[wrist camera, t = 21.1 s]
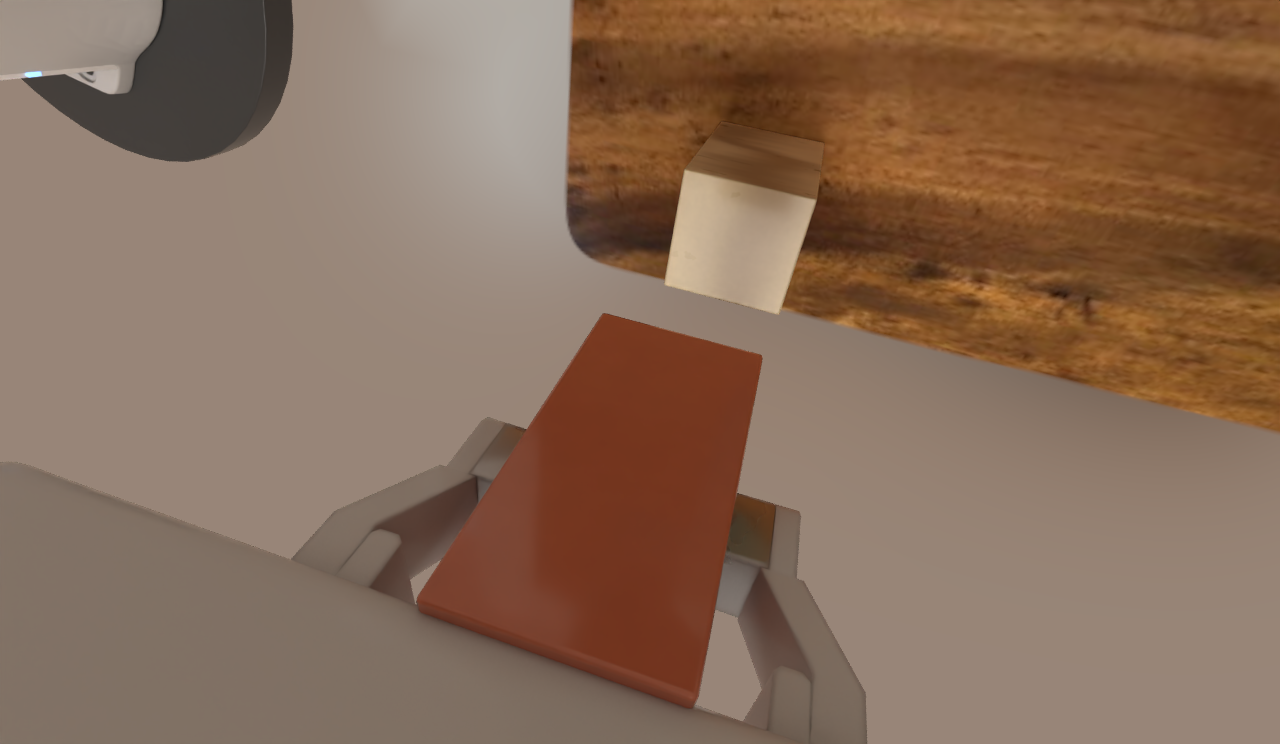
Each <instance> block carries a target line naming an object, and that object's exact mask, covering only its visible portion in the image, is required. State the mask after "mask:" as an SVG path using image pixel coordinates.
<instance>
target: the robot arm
mask: <svg viewBox="0 0 1280 744" xmlns="http://www.w3.org/2000/svg"><path fill="white" fill-rule="evenodd" d="M162 9H163V0H0V80H8V79H18V78H30V77H40V76H50V75H60V74H66V75H68V76H70V77H72V78H74V79H76V80H78V81H81V82H83V83H85V84H87V85H89V86H91V87H94V88H96V89H98V90H100V91H102V92H104V93H107V94H123V93H128V92H129V91H130V90H131V88H132V85H133V80H134V73H135V62H136V60H137V59H138V57H139V56H140V54H141V53H142V52H143V51H144V50H145V49H146V48H147V47H148V46H149V45H150V44H151V43H152V41H153V40H154V38H155V36H156V34H157V32H158V29H159V26H160V22H161V17H162ZM526 430H527V429H524V428H521V427H517V426H515V425H511V424H507V423H504V422H501V421H498V420H495V419H492V418H489V417H487V418H485V419H484V420H482V421H481V422H480V423H479V425H478V426H477V427H476V429H475V430H474V431H473V433H472V434H471V435H470V436H469V438H468V439H467V441H466V442H465V443H464V444H463V446H462V447H461V448H460V450H459V451H458V452H457V453H456V455H455V456H454V457H453V459H452V460H451V461H450V462H449V464H448V465H447V466H446V467H445V466H442V465H439V466H436V467H434V468H432V469H430V470H427V471H425V472H423V473H420V474H418V475H416V476H414V477H411V478H409V479H407V480H405V481H402V482H400V483H398V484H395V485H393V486H391V487H388V488H386V489H384V490H382V491H379V492H377V493H375V494H373V495H370V496H368V497H366V498H364V499H361V500H359V501H357V502H354V503H352V504H350V505H347V506H345V507H343V508H341V509H338V510H336V511H335V512H334V513H333V514H332V515H331V516H330V517H329V518H328V519H327V520H326V521H325V523H324V524H323V525H322V526H321V527H320V528H319V529H318V530H317V531H316V532H315V534H313V536H312V537H311V538H310V539H309V540H308V541H307V542H306V543H305V544H304V545H303V547H302V548H301V549H300V550H299V551H298V552H297V553H296V554H295V556H293V558H292V559H291V560H290V559H287V558H285V557H282V556H279V555H276V554H273V553H270V552H268V551H265V550H262V549H259V548H257V547H254V546H251V545H248V544H246V543H243V542H240V541H237V540H235V539H232V538H229V537H226V536H223V535H221V534H218V533H215V532H212V531H210V530H207V529H204V528H201V527H198V526H195V525H193V524H190V523H187V522H184V521H182V520H179V519H176V518H173V517H171V516H168V515H165V514H162V513H160V512H156V511H154V510H151V509H148V508H146V507H143V506H140V505H137V504H134V503H132V502H129V501H126V500H123V499H121V498H118V497H115V496H112V495H110V494H107V493H104V492H101V491H98V490H96V489H93V488H90V487H87V486H84V485H82V484H79V483H76V482H73V481H71V480H68V479H65V478H62V477H60V476H57V475H54V474H51V473H49V472H46V471H43V470H41V469H38V468H35V467H32V466H29V465H26V464H22V463H17V462H0V744H867V725H866V695H865V691H864V689H863V688H862V686H861V684H860V682H859V680H858V678H857V677H856V675H855V673H854V671H853V670H852V667H851V666H850V664H849V662H848V660H847V658H846V657H845V655H844V653H843V651H842V649H841V648H840V646H839V644H838V642H837V640H836V639H835V637H834V635H833V633H832V631H831V629H830V628H829V626H828V624H827V622H826V620H825V619H824V617H823V615H822V613H821V611H820V610H819V608H818V606H817V604H816V602H815V601H814V599H813V597H812V595H811V593H810V592H809V590H808V588H807V586H806V584H805V583H804V581H802V580H799V579H797V565H798V564H797V563H798V550H799V549H798V548H799V534H800V520H801V516H800V513H799V511H796V510H793V509H789V508H786V507H782V506H779V505H774V504H773V503H770V502H766V501H763V500H759V499H756V498H752V497H749V496H745V495H742V494H739V493H737V497H736V502H735V507H734V512H733V518H732V523H731V528H730V534H729V539H728V544H727V549H726V555H725V560H724V565H723V571H722V576H721V581H720V587H719V592H718V597H717V602H716V608H715V610H719V611H721V612H724V613H727V614H729V615H732V616H735V617H738V622H739V625H740V628H741V631H742V634H743V637H744V639H745V642H746V645H747V648H748V651H749V654H750V656H751V659H752V662H753V665H754V668H755V671H756V674H757V676H758V679H759V682H760V685H761V688H762V691H761V693H760V694H759V696H758V698H757V699H756V701H755V702H754V704H753V706H752V708H751V709H750V711H749V712H748V714H747V716H746V717H745V719H744V721H743V722H742V721H739V720H736V719H733V718H730V717H728V716H725V715H722V714H720V713H717V712H714V711H711V710H708V709H706V708H703V707H700V706H697V705H695V706H694V707H693V709H691V708H685V707H682V706H680V705H677V704H674V703H671V702H668V701H666V700H663V699H660V698H657V697H655V696H652V695H649V694H646V693H643V692H641V691H638V690H635V689H632V688H630V687H627V686H624V685H621V684H618V683H616V682H613V681H610V680H607V679H604V678H602V677H599V676H596V675H593V674H591V673H588V672H585V671H582V670H579V669H577V668H574V667H571V666H568V665H565V664H563V663H560V662H557V661H554V660H552V659H549V658H546V657H543V656H540V655H538V654H535V653H532V652H529V651H526V650H524V649H521V648H518V647H515V646H512V645H510V644H507V643H504V642H501V641H499V640H496V639H493V638H490V637H487V636H485V635H482V634H479V633H476V632H473V631H471V630H468V629H465V628H462V627H459V626H457V625H454V624H451V623H448V622H446V621H443V620H440V619H437V618H434V617H432V616H429V615H426V614H423V613H421V612H420V611H419V610H418V607H417V605H416V604H415V602H414V597H413V593H412V588H411V583H410V579H412V578H413V577H415V576H416V575H418V574H419V573H421V572H422V571H424V570H425V569H427V568H429V567H430V566H432V565H433V564H434V563H436V562H438V561H439V560H441V559H442V558H443V557H444V555H445V554H446V552H447V551H448V549H449V548H450V546H451V545H452V543H453V542H454V540H455V539H456V537H457V535H458V534H459V532H460V531H461V529H462V528H463V526H464V525H465V523H466V522H467V520H468V519H469V517H470V516H471V514H472V512H473V511H474V509H475V508H476V506H477V505H478V503H479V502H480V500H481V499H482V497H483V496H484V494H485V493H486V491H487V490H488V488H489V486H490V485H491V483H492V482H493V480H494V479H495V477H496V476H497V474H498V473H499V471H500V470H501V468H502V467H503V465H504V463H505V462H506V460H507V459H508V457H509V456H510V454H511V453H512V451H513V450H514V448H515V447H516V445H517V444H518V442H519V441H520V439H521V437H522V436H523V434H524V433H525V431H526Z"/></svg>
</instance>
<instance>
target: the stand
mask: <svg viewBox="0 0 1280 744" xmlns="http://www.w3.org/2000/svg"><path fill="white" fill-rule="evenodd" d="M823 152H824V143H822V142H818V141H813V140H808V139H804V138H799V137H794V136H790V135H785V134H780V133H776V132H771V131H766V130H762V129H757V128H752V127H748V126H743V125H738V124H734V123H729V122H724V121H721V122H720V124H719V125H718V126H717V128H716V129H715V130H714V132H713V133H712V134H711V136H710V137H709V138H708V139H707V141H706V142H705V143H704V145H703V146H702V147H701V149H700V150H699V151H698V152H697V154H696V155H695V156H694V158H693V159H692V160H691V162H690V163H689V164H688V165H687V167H686V168H685V169H684V173H683V179H682V185H681V190H680V196H679V202H678V207H677V213H676V219H675V224H674V230H673V236H672V242H671V247H670V253H669V259H668V264H667V270H666V276H665V281H664V285H666V286H670V287H674V288H678V289H682V290H685V291H689V292H693V293H697V294H700V295H704V296H708V297H712V298H716V299H719V300H723V301H727V302H731V303H735V304H739V305H742V306H746V307H750V308H754V309H758V310H762V311H766V312H769V313H773V314H777V315H779V314H780V311H781V308H782V305H783V302H784V299H785V296H786V293H787V290H788V287H789V284H790V281H791V278H792V275H793V272H794V268H795V265H796V262H797V259H798V256H799V253H800V250H801V247H802V244H803V241H804V238H805V235H806V232H807V229H808V226H809V223H810V220H811V217H812V214H813V211H814V208H815V205H816V202H817V196H818V189H819V181H820V174H821V166H822V159H823Z"/></svg>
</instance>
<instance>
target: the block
mask: <svg viewBox="0 0 1280 744" xmlns="http://www.w3.org/2000/svg"><path fill="white" fill-rule="evenodd" d="M761 364H762V355H760V354H756V353H753V352H749V351H745V350H741V349H738V348H734V347H730V346H726V345H723V344H719V343H715V342H711V341H708V340H704V339H700V338H696V337H693V336H689V335H685V334H681V333H678V332H674V331H670V330H666V329H662V328H659V327H655V326H651V325H647V324H644V323H640V322H636V321H632V320H629V319H625V318H621V317H617V316H613V315H610V314H605V313H604V314H602V315H601V317H600V318H599V320H598V321H597V323H596V324H595V326H594V327H593V329H592V330H591V332H590V334H589V335H588V336H587V338H586V339H585V341H584V343H583V344H582V346H581V347H580V349H579V350H578V352H577V353H576V355H575V356H574V358H573V359H572V361H571V363H570V364H569V365H568V367H567V369H566V370H565V372H564V373H563V375H562V376H561V378H560V379H559V381H558V382H557V384H556V385H555V387H554V389H553V390H552V392H551V393H550V395H549V396H548V398H547V399H546V401H545V402H544V404H543V405H542V407H541V408H540V410H539V412H538V413H537V414H536V416H535V418H534V419H533V421H532V422H531V424H530V425H529V427H528V429H527V430H526V431H525V433H524V434H523V436H522V437H521V439H520V441H519V442H518V444H517V445H516V447H515V448H514V450H513V451H512V453H511V454H510V456H509V457H508V459H507V460H506V462H505V463H504V465H503V467H502V468H501V470H500V471H499V473H498V474H497V476H496V477H495V479H494V480H493V482H492V483H491V485H490V486H489V488H488V490H487V491H486V493H485V494H484V496H483V497H482V499H481V500H480V502H479V503H478V505H477V506H476V508H475V509H474V511H473V512H472V514H471V516H470V517H469V519H468V520H467V522H466V523H465V525H464V526H463V528H462V529H461V531H460V532H459V534H458V535H457V537H456V539H455V540H454V542H453V543H452V545H451V546H450V548H449V549H448V551H447V552H446V554H445V555H444V557H443V558H442V560H441V561H440V563H439V565H438V566H437V568H436V569H435V571H434V572H433V574H432V575H431V577H430V578H429V580H428V582H427V583H426V585H425V586H424V588H423V589H422V591H421V592H420V594H419V595H418V597H417V601H416V603H417V607H418V610H419V611H420V612H421V613H423V614H426V615H429V616H432V617H434V618H437V619H440V620H443V621H446V622H448V623H451V624H454V625H457V626H459V627H462V628H465V629H468V630H471V631H473V632H476V633H479V634H482V635H485V636H487V637H490V638H493V639H496V640H499V641H501V642H504V643H507V644H510V645H512V646H515V647H518V648H521V649H524V650H526V651H529V652H532V653H535V654H538V655H540V656H543V657H546V658H549V659H552V660H554V661H557V662H560V663H563V664H565V665H568V666H571V667H574V668H577V669H579V670H582V671H585V672H588V673H591V674H593V675H596V676H599V677H602V678H604V679H607V680H610V681H613V682H616V683H618V684H621V685H624V686H627V687H630V688H632V689H635V690H638V691H641V692H643V693H646V694H649V695H652V696H655V697H657V698H660V699H663V700H666V701H668V702H671V703H674V704H677V705H680V706H682V707H685V708H691V709H693V707H694V706H695V704H696V702H697V699H698V697H699V692H700V687H701V682H702V676H703V671H704V665H705V660H706V655H707V650H708V644H709V639H710V634H711V629H712V623H713V618H714V613H715V608H716V602H717V597H718V592H719V587H720V581H721V576H722V571H723V565H724V560H725V555H726V549H727V544H728V539H729V534H730V528H731V523H732V518H733V512H734V507H735V502H736V497H737V491H738V485H739V481H740V475H741V470H742V465H743V459H744V454H745V449H746V443H747V438H748V432H749V428H750V422H751V417H752V411H753V406H754V401H755V396H756V391H757V385H758V380H759V375H760V370H761Z"/></svg>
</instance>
